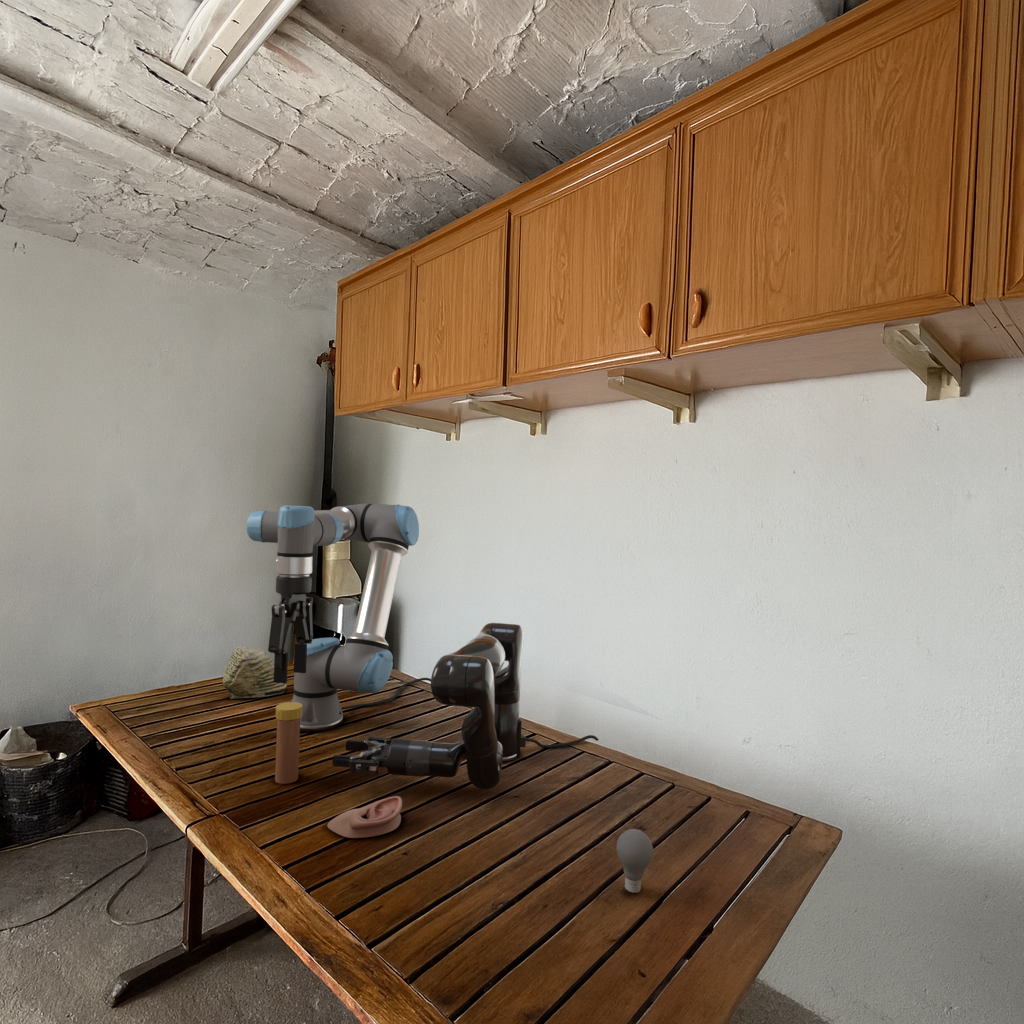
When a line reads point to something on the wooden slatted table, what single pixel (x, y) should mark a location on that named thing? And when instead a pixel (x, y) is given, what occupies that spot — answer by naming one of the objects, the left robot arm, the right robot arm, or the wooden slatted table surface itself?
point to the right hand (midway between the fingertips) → (339, 752)
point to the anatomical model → (369, 819)
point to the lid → (288, 711)
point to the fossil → (251, 674)
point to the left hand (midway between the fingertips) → (290, 677)
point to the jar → (287, 751)
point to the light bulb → (634, 857)
